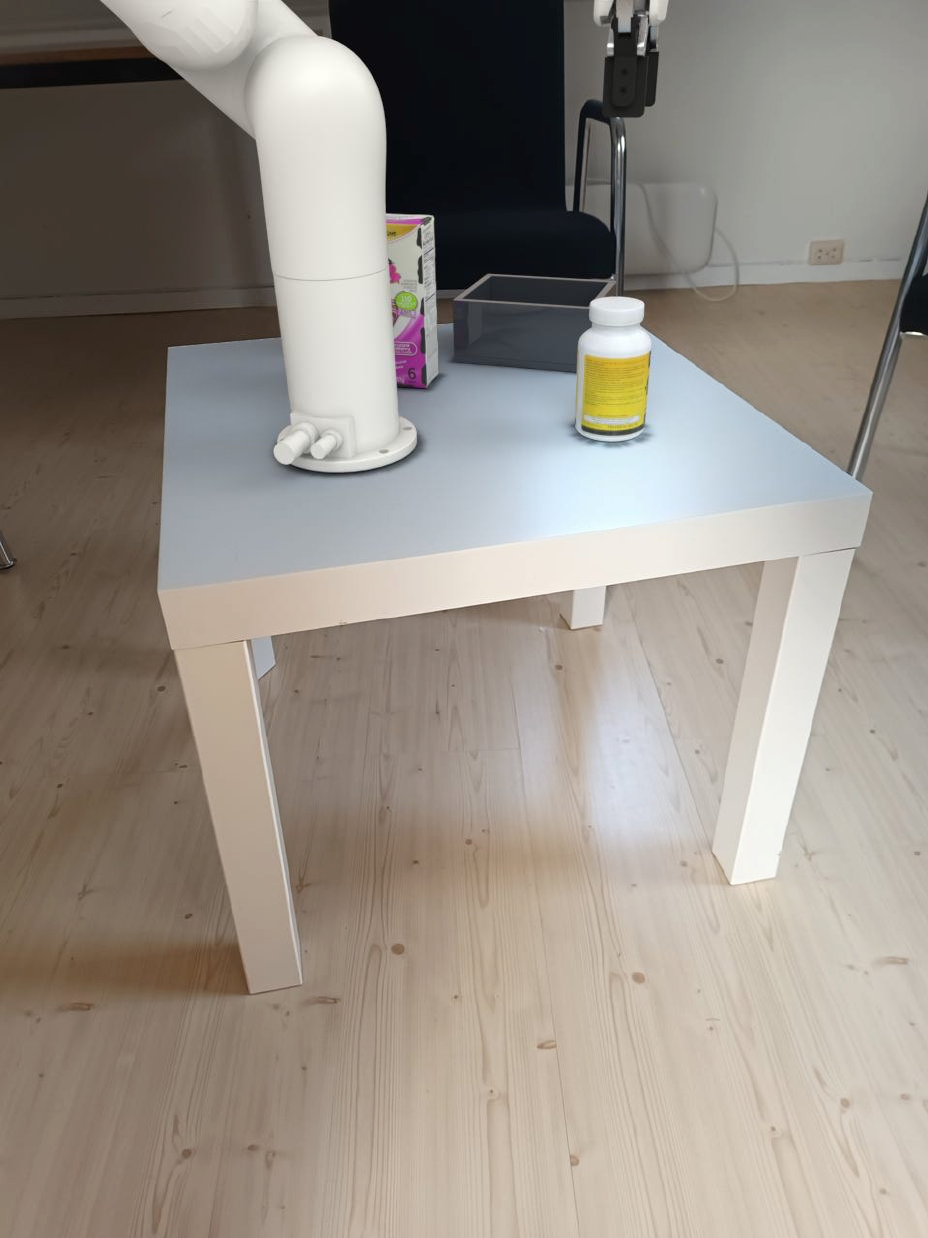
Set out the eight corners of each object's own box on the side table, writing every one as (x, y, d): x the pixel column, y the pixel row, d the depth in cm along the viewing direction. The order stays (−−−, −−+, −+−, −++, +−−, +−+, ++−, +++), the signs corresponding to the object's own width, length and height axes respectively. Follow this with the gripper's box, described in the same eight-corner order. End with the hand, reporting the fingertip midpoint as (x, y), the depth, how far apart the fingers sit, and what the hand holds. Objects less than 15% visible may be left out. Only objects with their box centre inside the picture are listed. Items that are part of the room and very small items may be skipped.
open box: (590, 373, 100) (593, 309, 96) (454, 361, 104) (452, 299, 100) (612, 340, 110) (616, 280, 106) (487, 330, 114) (487, 273, 110)
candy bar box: (327, 384, 99) (310, 219, 90) (344, 369, 103) (329, 210, 94) (428, 390, 96) (420, 221, 87) (441, 375, 100) (435, 212, 91)
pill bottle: (649, 444, 83) (661, 312, 77) (576, 444, 83) (583, 313, 77) (639, 417, 88) (649, 292, 82) (571, 418, 89) (576, 294, 82)
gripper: (610, -142, 74) (598, 102, 83) (576, -177, 60) (566, 122, 69) (706, -149, 72) (683, 102, 81) (695, -186, 58) (668, 121, 67)
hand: (629, 111), depth 75 cm, fingers open, 9 cm apart
